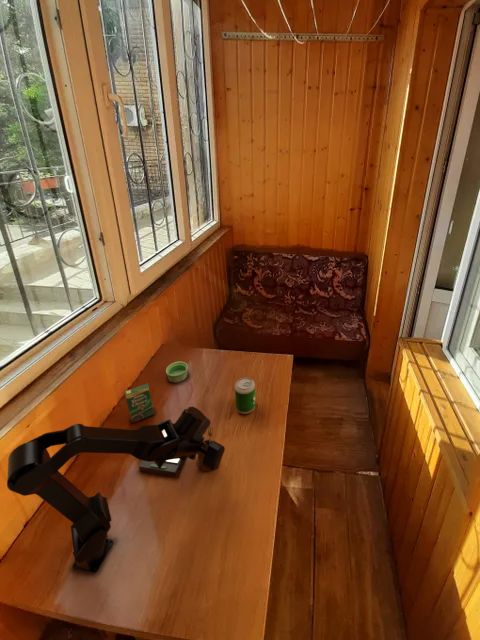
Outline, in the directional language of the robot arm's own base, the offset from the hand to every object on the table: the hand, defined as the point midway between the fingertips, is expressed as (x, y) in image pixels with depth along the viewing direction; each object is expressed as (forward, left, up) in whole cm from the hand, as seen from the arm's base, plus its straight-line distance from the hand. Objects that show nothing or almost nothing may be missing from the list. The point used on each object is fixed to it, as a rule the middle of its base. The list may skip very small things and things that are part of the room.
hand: (209, 443), depth 98 cm
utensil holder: (-1, 0, -7) cm, 7 cm away
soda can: (+22, -6, -7) cm, 23 cm away
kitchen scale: (0, +14, -7) cm, 16 cm away
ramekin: (+34, +28, -7) cm, 45 cm away
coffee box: (+12, +31, -7) cm, 34 cm away
